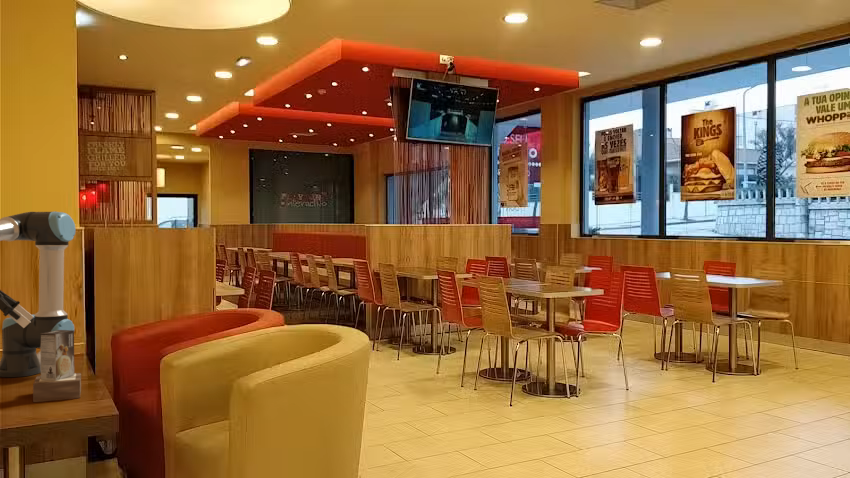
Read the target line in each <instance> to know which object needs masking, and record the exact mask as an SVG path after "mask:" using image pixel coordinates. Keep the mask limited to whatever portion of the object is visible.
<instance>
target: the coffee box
mask: <svg viewBox="0 0 850 478" xmlns="http://www.w3.org/2000/svg"><path fill="white" fill-rule="evenodd" d="M39 349H40V350H39V351H41V364H40V365H41V372H40V376H41V380H54V381H56V380H60V379H63V378H66V377H69V376H73V375H74V373H75V329H74V330H56V331H51V332H46V333H41V334H40V348H39Z"/></svg>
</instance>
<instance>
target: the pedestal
mask: <svg viewBox="0 0 850 478" xmlns="http://www.w3.org/2000/svg"><path fill="white" fill-rule="evenodd" d="M81 392H82V372H74V375H73V376H69V377H66V378H63V379H60V380H56V381H54V380H41V375H37V376H36V377H35V379H34V381H33V384H32V402H33V403H40V402H41V403H42V402H52V401H62V400H63V401H65V400H71V399H72V400H75V399H76V400H77V399H81Z"/></svg>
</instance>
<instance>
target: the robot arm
mask: <svg viewBox="0 0 850 478" xmlns="http://www.w3.org/2000/svg"><path fill="white" fill-rule="evenodd" d="M74 236H76V223H75V222H74V219H73V218H72V217H71V215H69V214H68V213H66V212H63V211H27V212H21V213H17V214H13V215H8V216H4V217H1V218H0V242H1V241H5V242H14V241H30V242H35V243H34V246H35V247H36V248H37V249H38V250H39V257H38V258H39V260H38V261H39V263H38V265H39V269H38V270H39V272H38V273H39V274H38V276H39V277H38V279H39V280H38V311H37V312H36V313H33V314H31V313H30V312H29V311H27V310H26V309H25V308H24V307H23V306H22V305H20V303H21V302H20V301H19V300H15V299H14V298H12V297H11V296H10V295H8V294H7V293H5V292H4V291H3V290H1V289H0V311H1V312H2V314H3V316H4V317H6V318H4V319H3V321H2V328H1V333H2V334H1V339H2V343H1V345H2V346H1V347H2V348H1V349H2V354H1V355H2V357H1V358H0V378H22V377H28V376H34V375H38V374H41V364H40V362H39V359H38V357H37V349H40V334H41V333H46V332H51V331H56V330H74V331H75V324H74V323H73V321H72V320H71V319H68V316H69V314H68V312H66V311H65V310H64V293H65V292H64V291H65V290H64V289H65V288H64V286H65V280H64V279H65V277H64V276H65V250H66V249H67V248H68V247H69V242H70V241H72V240H73V239H74Z"/></svg>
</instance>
